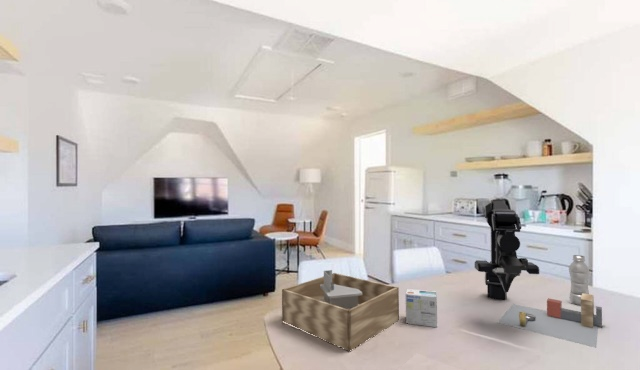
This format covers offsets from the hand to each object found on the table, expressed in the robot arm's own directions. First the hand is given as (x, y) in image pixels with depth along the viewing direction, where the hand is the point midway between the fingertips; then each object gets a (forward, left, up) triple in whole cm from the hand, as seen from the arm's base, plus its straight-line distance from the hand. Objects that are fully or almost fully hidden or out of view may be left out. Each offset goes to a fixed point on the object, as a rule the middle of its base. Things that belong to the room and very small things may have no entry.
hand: (506, 291), depth 109 cm
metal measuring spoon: (+4, +7, -11) cm, 14 cm away
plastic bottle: (+17, +41, -12) cm, 47 cm away
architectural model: (-46, -35, -13) cm, 59 cm away
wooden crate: (-46, -35, -12) cm, 58 cm away
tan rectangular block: (+21, +19, -11) cm, 31 cm away
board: (+10, +11, -12) cm, 20 cm away
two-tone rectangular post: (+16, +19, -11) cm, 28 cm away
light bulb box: (-24, -16, -12) cm, 31 cm away
